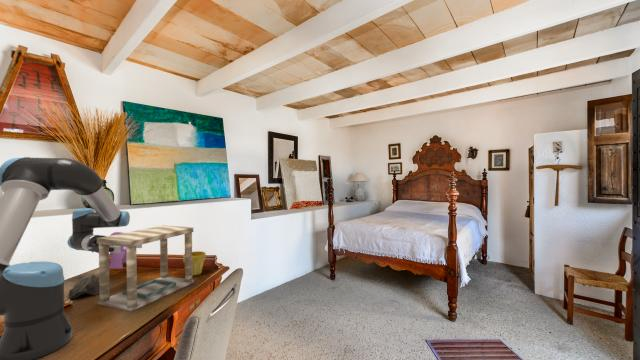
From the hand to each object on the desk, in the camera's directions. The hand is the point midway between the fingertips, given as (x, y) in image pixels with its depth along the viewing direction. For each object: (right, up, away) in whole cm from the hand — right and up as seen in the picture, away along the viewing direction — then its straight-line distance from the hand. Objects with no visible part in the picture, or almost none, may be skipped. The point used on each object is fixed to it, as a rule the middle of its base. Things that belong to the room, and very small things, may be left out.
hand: (131, 247), depth 119 cm
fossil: (-15, -18, -6) cm, 25 cm away
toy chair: (-4, -8, +1) cm, 9 cm away
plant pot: (+19, -18, +19) cm, 32 cm away
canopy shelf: (+11, -18, -4) cm, 21 cm away
